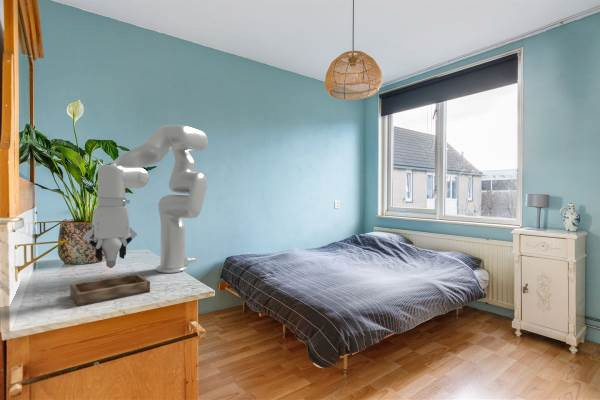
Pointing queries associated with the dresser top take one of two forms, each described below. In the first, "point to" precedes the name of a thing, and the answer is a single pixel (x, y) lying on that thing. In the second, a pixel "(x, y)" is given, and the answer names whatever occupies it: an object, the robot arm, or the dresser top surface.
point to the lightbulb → (111, 250)
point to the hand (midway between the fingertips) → (110, 258)
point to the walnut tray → (108, 289)
